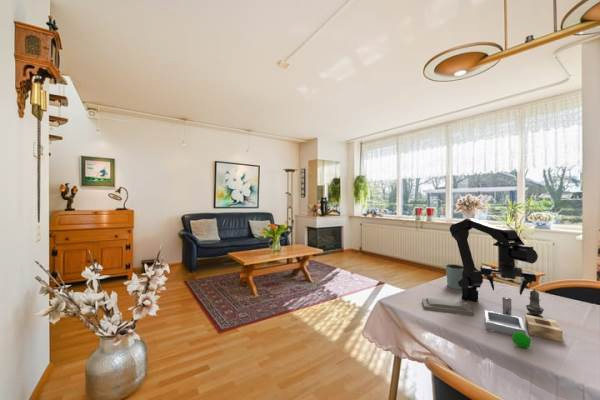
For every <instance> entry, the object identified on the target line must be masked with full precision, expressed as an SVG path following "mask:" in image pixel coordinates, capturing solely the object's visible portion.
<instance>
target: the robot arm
mask: <svg viewBox="0 0 600 400" xmlns="http://www.w3.org/2000/svg"><path fill="white" fill-rule="evenodd" d="M473 229H474V230H477V231H479V232H482V233H485V234H487V235H489V236H491V237H492V239H493V240H495V241H496V242H494V243H493V244H492V245H493V246H495V247H497V255H498V256H497V268H498V269H495V268H492V267H491V266H487V265H480V268H479V269H480V270H478V269H477V268H476V265H475V263H474V260H473V256H472V252H471V251H472V250H471V248H470V244H469V241H468V238H469V236H470V230H473ZM449 232H450V234H451V237H452V238H454V240H455V241H456V244H457V248H458V251H459V256H460V260H461V263H462V266H463V267H464V269H463V272H462V279H461V280H460V281H459V282H458V284H459V286H460V287H462V289H461V300H463V301H464V300H465V301H470V302H475V303H477V302H478V300H479V290H478V288H479V289H480V288H481V286H482V284H483V283H484V277H486V278H487V279H488V281H489V283H490V286H491V289H492V290H493V291H495V284H494V279H493V275H495V274H496V275H500V278H502V279H509V280H510V279H511V280H516V278H520V282H519V295H520V296H522V294H523V292H524V290H525V288H526V287H527V285H529V284H532V283H533V282H534V283H535V282H537V275H536V274H535V272H533V271H530V270H522V267H516V261H519V262H523V263H528V264H535V263H536V262H537V261H538V257H539V254H538V253H537V251H536V250H535V249H534V246H531V245H525V243H524V242H523V241H522V239H521V238H520V236H519V235H518V233H517V231H516V230H515V229H513V228H508V227H499V226H495V225H492V224H489V223H487V222H484V221H480V220H479V219H476V218H473V217H470V218H468V217H467V218H465V219H462V220H461V221H458V222H455V223H452V224H451V225H450V227H449ZM483 276H484V277H483Z"/></svg>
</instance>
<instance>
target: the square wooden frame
mask: <svg viewBox="0 0 600 400" xmlns="http://www.w3.org/2000/svg"><path fill="white" fill-rule="evenodd" d="M524 317H525V318H524V319H525V321H524V322H525V323H524V324H525V328H526V329H527V330H526V331H527V333H528V334H529V335H531V336H535V337H540V338H543V339H549V340H552V341H553V340H554V341H557V342H561V343H562V342H563V329H562V328H561V327H560V324H559V323H558V321H557V320H555V319H549V318H545V317H543V318H540V317H535V316H530V315H527V314H525V316H524Z"/></svg>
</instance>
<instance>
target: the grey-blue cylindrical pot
mask: <svg viewBox="0 0 600 400" xmlns="http://www.w3.org/2000/svg"><path fill="white" fill-rule="evenodd" d="M463 269H464V267H463V265H460V264H451V263H450V264H446V265H445V274H446V284H447V287H448V288H450V289H452V290H462V287H460V286H459V284H458V282H459V281H460V280H461V279H462V272H463Z"/></svg>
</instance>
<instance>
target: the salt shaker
mask: <svg viewBox="0 0 600 400" xmlns="http://www.w3.org/2000/svg"><path fill="white" fill-rule="evenodd" d="M528 299H529V304H526V305H525V308H526V310H527V311H528V312H527V313H526V315H530V316H535V317H540V318H544V316H543V313H544V310H545V309H544V307H541V306H540V302H541V299H540V293H539V292H538V291H537V290H536V289H535V288H533V290H530V291H529V297H528Z"/></svg>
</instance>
